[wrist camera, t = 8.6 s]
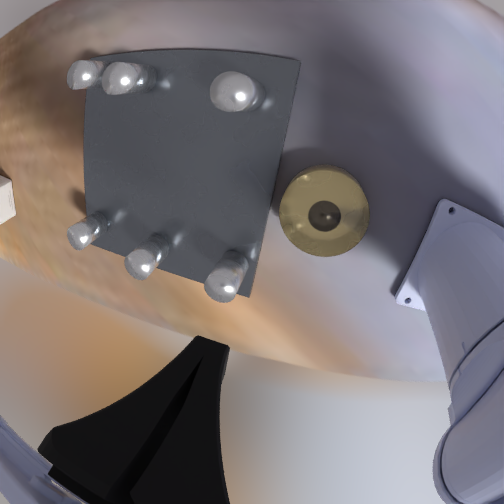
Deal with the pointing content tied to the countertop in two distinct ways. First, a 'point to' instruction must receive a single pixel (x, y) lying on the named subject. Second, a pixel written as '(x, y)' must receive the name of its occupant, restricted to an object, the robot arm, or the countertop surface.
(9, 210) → the ink box
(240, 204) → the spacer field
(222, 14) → the countertop surface
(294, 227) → the brass nut
